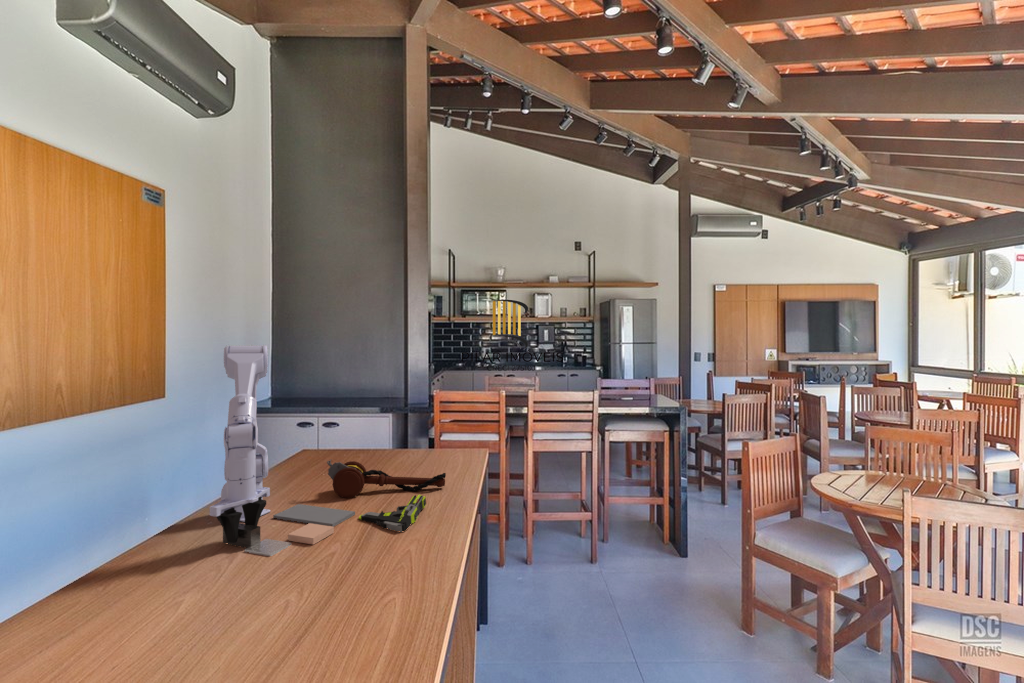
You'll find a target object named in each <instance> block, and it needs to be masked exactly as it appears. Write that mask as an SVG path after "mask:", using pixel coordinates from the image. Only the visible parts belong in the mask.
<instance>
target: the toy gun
mask: <svg viewBox="0 0 1024 683" xmlns="http://www.w3.org/2000/svg"><path fill="white" fill-rule="evenodd" d="M426 506H427V500H426V496H425V495H422V494H418V495H416V494H415V495H413V496H412V497H411V499H410V500H409V502H408V503H407V505H401V506H400V505H399V506H397V507H396V510H393V511H389V512H384V511H383V510H382V511H381V512H375V511H368V512H365V513H363V514H360V515H359V516H358V520H361V521H362V522H367V523H372V524H376V525H377V526H380V527H381V528H382V527H383V528H382V529H384V528H388V529H387V530H389V529H391V530H395V531H400V532H402V531H404V530H406V529H407V528H408V527H409V526H410V527H411V525H410V524H412V523H413V524H415V523H416V522H417V520H418V517H419V516H420V513H421V511H422V510H423V509H425V507H426ZM414 522H415V523H414ZM413 524H412V525H413ZM410 527H409V528H410ZM409 528H408V529H409ZM408 529H407V530H408ZM391 530H390V531H391ZM407 530H406V531H407ZM402 533H403V532H402Z"/></svg>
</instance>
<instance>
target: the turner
mask: <svg viewBox="0 0 1024 683" xmlns="http://www.w3.org/2000/svg"><path fill="white" fill-rule="evenodd" d="M223 543H228V544H232V545H236V546H235V547H238V546H241V547H240V548H244V547H246V548H244V553H247V552H249V554H253V555H260V556H265V557H270V556H271V557H272V556H274V555H276V554H278V553H279V552H282V551H284V550H285V549H288V548H289V547H291V546H292V542H291V541H290V542H289V541H284V540H283V541H282V540H278V539H277V540H276V539H272V538H271V539H270V538H264V539H263V540H261V526H259V525H257V526H254V525H248V524H245V523H240V522H239V526H238V539H237V542H236V543H230V542H227V539H226V535H225V532H224V529H223V528H222V544H223ZM232 545H231V546H232ZM290 545H291V546H290ZM288 546H289V547H288ZM283 549H284V550H283ZM281 550H282V551H281Z"/></svg>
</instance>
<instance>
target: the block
mask: <svg viewBox="0 0 1024 683" xmlns="http://www.w3.org/2000/svg"><path fill="white" fill-rule="evenodd" d="M334 533H335V526H334V527H332V526H325V525H319V524H312V523H309V524H307V523H306V524H305V525H302V526H301V527H299V528H297V529H295V530H294V531H291V532H290V533H288V534H287V541H288V542H289V541H290V542H294V543H295V542H296V543H301V544H308V545H315V544H317V543H318V542H320V541H322V540H324V539H325V538H327V537H330V536H331V535H333V534H334Z"/></svg>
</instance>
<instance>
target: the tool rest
mask: <svg viewBox="0 0 1024 683" xmlns="http://www.w3.org/2000/svg"><path fill="white" fill-rule="evenodd" d="M355 515H356V511H353V510H347V509H339V508H333V507H332V508H331V507H323V506H316V505H311V504H310V505H307V504H303V503H298V504H296V505H293V506H291V507H288V508H286V509H285V510H282V511H280V512H278V513H275V514H273V518H272V519H274V518H277V519H276V520H280V519H283V520H282V521H287V520H291V521H290V522H294V521H297V522H296V523H300V522H303V523H302V524H307V523H308V524H309V523H312V524H319V525H325V526H332V527H334V528H335V527H336V526H337V525H339V524H341V523H342V522H345V521H346V520H348V519H350V518H352V517H353V516H355Z"/></svg>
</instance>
